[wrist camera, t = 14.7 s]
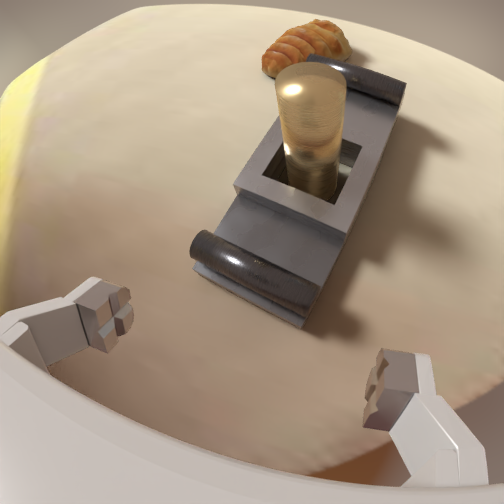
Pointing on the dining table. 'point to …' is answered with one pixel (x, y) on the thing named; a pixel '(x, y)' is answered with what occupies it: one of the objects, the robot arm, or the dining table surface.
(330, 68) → the gold rounded cylinder
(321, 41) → the pastry
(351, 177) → the grey roller block
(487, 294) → the dining table surface
